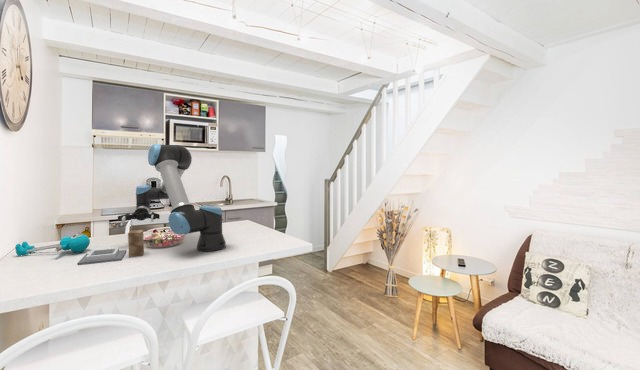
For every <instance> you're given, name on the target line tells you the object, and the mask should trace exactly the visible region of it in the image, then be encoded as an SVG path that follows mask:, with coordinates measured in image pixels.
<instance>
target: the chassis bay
mask: <svg viewBox="0 0 640 370" xmlns="http://www.w3.org/2000/svg"><path fill="white" fill-rule="evenodd" d="M126 253H127V250H126V249H123V250H120V247H111V248H102V249H101V248H100V249H91V251H89V252H88V253H86V254H84V255H83V257H81V259H80V260H78V261H77V266H82V265H91V264H100V263H110V262H111V263H112V262H118V261H120V262H121V261H122V260H123V258H124V257H125V255H126Z"/></svg>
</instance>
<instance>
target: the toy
mask: <svg viewBox="0 0 640 370" xmlns="http://www.w3.org/2000/svg"><path fill="white" fill-rule="evenodd" d="M90 242H91V241H90V238H89V236H88V235H86V234H84V233H81V232H78V233H76V234H74V235H72V236H65V237H63V238H61V239H60V241H59V243H55V244H50V245H49V244H48V245H42V246H37V247H36V246H35V245H29V243H28V242H27V241H22V243H17V244H15V253H16V255H17V256H18V257H22V256H21V255H23V256H26V255H29V254H30V253H34V252H38V251H44V250H52V249H55V250H54V251H56V252H57V253H58V252H59V251H65V252H66V251H71V252H73V253H75V254H76V253H78V254H79V253H83V252H85V251H86V249H87V248H88V247H90V244H91V243H90Z"/></svg>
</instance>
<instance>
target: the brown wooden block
mask: <svg viewBox="0 0 640 370" xmlns="http://www.w3.org/2000/svg"><path fill="white" fill-rule="evenodd" d="M127 237H128V238H127V241H128V257H129V258H132V257H143V256H144V253H145V243H144V240H145V239H144V229H136V230H135V229H134V230H129V231H128V233H127Z"/></svg>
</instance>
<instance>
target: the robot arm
mask: <svg viewBox="0 0 640 370" xmlns="http://www.w3.org/2000/svg"><path fill="white" fill-rule="evenodd" d="M147 162H148V164H149V165H150V166H152V167H154V168H155V170H156V171H157V172H158V173H160V176H161V179H162V183H161V185H160V187H155V188H154V187H153V188H152V187H151V186H150V185H138V186H136V187H135V197H136V199H135V201H136V209H135V210H134V212H132V213H130V212H128V213H125V214H121V215H118V216H117V221H118V222H121V224H122V225H123V224H125V222H126V221H129V220H136V221H144V220H147V219H150V220H151V221H150V222H154V221H155V220H156V219H157V220H159V219H160V218H161V217H160V215H161V214H159V213H156V212H154V211H152V209H151V201H154V200H155V201H157V200H168V199H169V203H170V205H171V208H172V209H171V210H170V214H169V215H168V226H169V227H170V230H171V231H172V232H173V234H176V235H178V236H180V235H188V234H193V233H198V232H199V236H198V240H197V243H196V250H197V251H200V252H216V251H220V250H224V249H225V248H226V246H227V245H226V240H225V237H224V234H223V210H222V208H221V207H220V206H212V205H211V206H210V205H200V206H199V208H198V209H196V208H195V206H194V204H193V203H191V202H190V201H189V198H188V195H187V193H186V189H185V187H184V183H183V181H182V179H181V178H182V176H183V175H184V173H185V171H187V170H188V169H189V168H190V166H191V164H192V162H193V159H192V154H191V152H190V150H189V149H188V148H186V147H185V146H183V145H179V144H161V143H157V144H155V143H154V144H152V145H151V146H150V147H149V150H148V153H147Z"/></svg>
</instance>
